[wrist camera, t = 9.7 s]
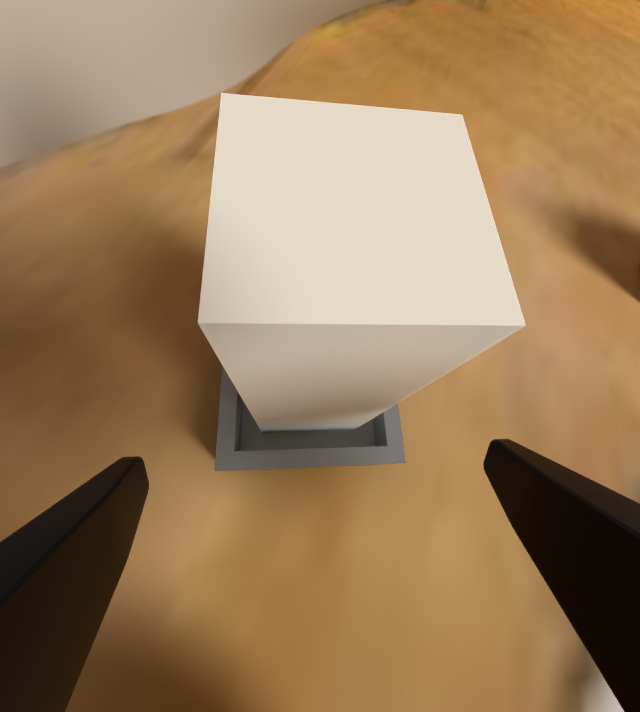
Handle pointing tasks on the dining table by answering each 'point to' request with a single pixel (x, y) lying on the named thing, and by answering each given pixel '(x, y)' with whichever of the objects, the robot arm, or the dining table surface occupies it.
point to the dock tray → (300, 440)
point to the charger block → (346, 258)
